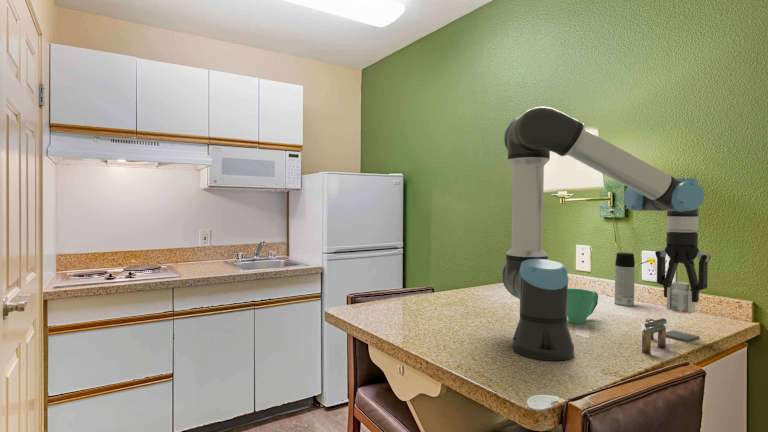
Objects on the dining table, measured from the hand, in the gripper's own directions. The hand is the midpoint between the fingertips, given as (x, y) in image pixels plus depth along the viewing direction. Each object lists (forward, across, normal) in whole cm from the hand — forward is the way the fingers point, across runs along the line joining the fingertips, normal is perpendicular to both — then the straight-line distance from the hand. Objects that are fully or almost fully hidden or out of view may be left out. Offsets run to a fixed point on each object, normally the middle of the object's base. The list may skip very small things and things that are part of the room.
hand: (680, 310), depth 126 cm
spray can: (+8, +32, -29) cm, 44 cm away
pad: (+8, 0, 0) cm, 8 cm away
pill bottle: (+1, 0, 0) cm, 1 cm away
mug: (+8, +26, +8) cm, 28 cm away
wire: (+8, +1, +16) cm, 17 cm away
